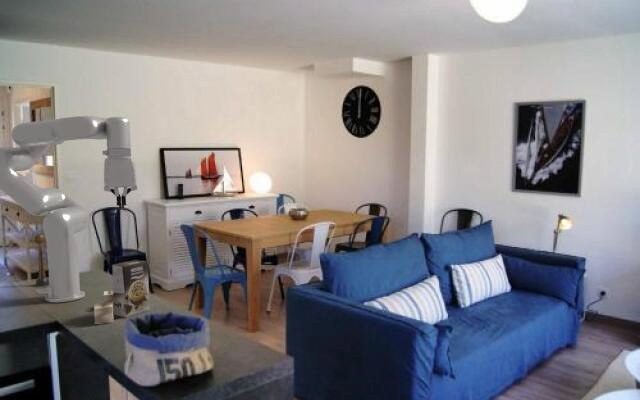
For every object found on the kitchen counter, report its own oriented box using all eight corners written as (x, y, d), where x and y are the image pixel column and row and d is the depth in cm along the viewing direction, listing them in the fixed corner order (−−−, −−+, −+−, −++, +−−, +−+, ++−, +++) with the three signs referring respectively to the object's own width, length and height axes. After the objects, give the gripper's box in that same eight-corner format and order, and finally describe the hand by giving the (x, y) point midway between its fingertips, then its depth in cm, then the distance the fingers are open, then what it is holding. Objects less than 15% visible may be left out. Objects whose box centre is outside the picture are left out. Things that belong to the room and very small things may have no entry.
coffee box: (126, 318, 160) (124, 266, 159) (113, 314, 164) (111, 264, 162) (150, 310, 168) (148, 261, 167) (137, 307, 172) (135, 259, 170)
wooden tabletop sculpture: (35, 287, 199) (32, 235, 197) (30, 285, 202) (27, 234, 200) (51, 284, 203) (48, 233, 201) (46, 282, 206) (43, 232, 204)
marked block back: (104, 310, 169) (103, 294, 169) (104, 306, 174) (104, 290, 173) (120, 308, 171) (120, 293, 170) (120, 304, 176) (120, 289, 175)
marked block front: (94, 325, 155) (94, 308, 154) (95, 320, 159) (95, 303, 159) (113, 323, 156) (112, 306, 156) (113, 318, 161) (112, 301, 160)
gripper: (94, 154, 171) (97, 209, 172) (142, 153, 176) (144, 207, 177) (95, 154, 178) (98, 207, 179) (142, 153, 183) (144, 205, 184)
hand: (121, 207), depth 178 cm, fingers closed
